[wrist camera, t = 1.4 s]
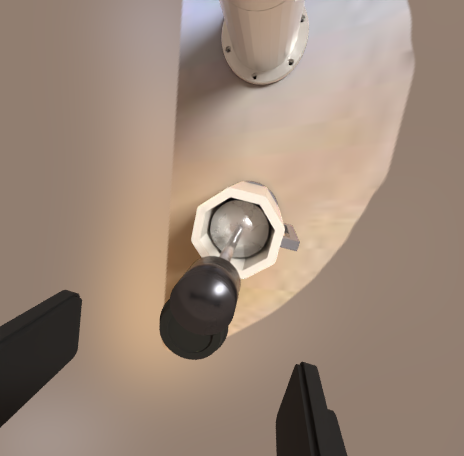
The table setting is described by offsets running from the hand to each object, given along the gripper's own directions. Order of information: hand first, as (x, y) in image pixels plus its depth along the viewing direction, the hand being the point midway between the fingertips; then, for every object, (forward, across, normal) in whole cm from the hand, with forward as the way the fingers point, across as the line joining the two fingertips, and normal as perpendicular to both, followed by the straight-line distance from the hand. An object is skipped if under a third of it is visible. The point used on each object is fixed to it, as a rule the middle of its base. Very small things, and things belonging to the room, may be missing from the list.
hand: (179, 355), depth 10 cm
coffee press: (+34, 0, 0) cm, 34 cm away
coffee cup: (+35, +3, +14) cm, 38 cm away
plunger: (+22, 0, 0) cm, 22 cm away
